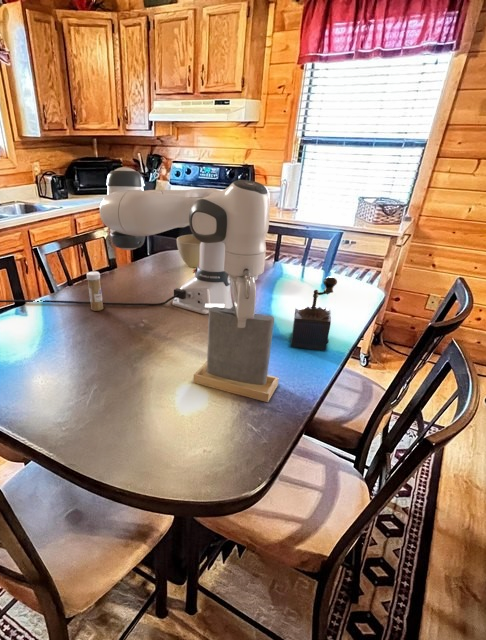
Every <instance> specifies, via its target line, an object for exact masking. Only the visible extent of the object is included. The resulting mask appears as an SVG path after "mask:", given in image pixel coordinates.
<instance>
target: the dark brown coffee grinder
mask: <svg viewBox="0 0 486 640" xmlns="http://www.w3.org/2000/svg"><path fill="white" fill-rule="evenodd" d="M322 283H323V285H324V289H323V291H319V290H318V289H314V290H313V294H312V298H313V300H312V305H309V306H295V309H294V311H295V312H294V318H293V324H292V331H291V336H290V348H296V349H305V350H312V351H327V346H328V344H329V341H330V339H329V334H330V329H331V324H332V316H331V315H332V314H331V308H327V307H325V308H324V307H321V306H319V305H317V299H318V298H319V296H322V295H323V296H324V295H327V296H328V295H330V294H332V293H334V287H335V286H337V284H338V280H337V279H336V278H335V277H333V276H327V277H325V278H324V279H323V281H322Z"/></svg>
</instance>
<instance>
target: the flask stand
mask: <svg viewBox="0 0 486 640" xmlns="http://www.w3.org/2000/svg"><path fill="white" fill-rule="evenodd" d="M279 379H280V377H277V376H274V375H270V374H267V381H266V384H264V385H256V384H249V383H243V382H237V381H233V380H229V379H225V378H221V377H218V376H215V375H212V374H209V373H207V360H206V361H205V362H204V363H203V364H202V365H201V366H200V368H199V369H198V370H197V371H195V373H194V374H193V383H194V384H197V385H201V386H204V387H209V388H213V389H217V390H220V391H223V392H228V393H231V394H236V395H238V396H243V397H246V398H250V399H254V400H257V401H261V402H265V403H269V401H270V399H271V397H272V396H273V394H274V392H276V389H277V387H278V386H279Z"/></svg>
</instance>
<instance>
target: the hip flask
mask: <svg viewBox="0 0 486 640" xmlns="http://www.w3.org/2000/svg"><path fill="white" fill-rule="evenodd" d="M237 319H238V318H237V314H236V309H235V304H234V303H233V307H232V308H231V309H228V308H220V307H210V308H209V313H208V320H207V321H208V323H207V348H206V350H207V351H206V358H207V359H206V361H207V373H209V374H212V375H215V376H218V377H221V378H225V379H229V380H233V381H237V382H243V383H249V384H256V385H264V384H266V381H267V375H268V372H269V365H270V364H269V363H270V356H271V348H272V340H273V333H274V325H275V324H274V323H275V317H274V315H271V314H260V313H254V317H253V318H252V319H246V325H245V327H244V328H238V326H237Z"/></svg>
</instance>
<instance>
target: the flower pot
mask: <svg viewBox="0 0 486 640" xmlns="http://www.w3.org/2000/svg"><path fill="white" fill-rule="evenodd" d="M200 243H201V242H200V241H199V240H198V239H196V238H195V236H194V235H193V234H192V233H191V234H184V235H180V236H178V237H176V246H177V250H178V253H179V256H180V257H181V260H182V261H183V262H184V263H185V265H186V266H187V267H190V268H196V267H198V265H199V260H200Z"/></svg>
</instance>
